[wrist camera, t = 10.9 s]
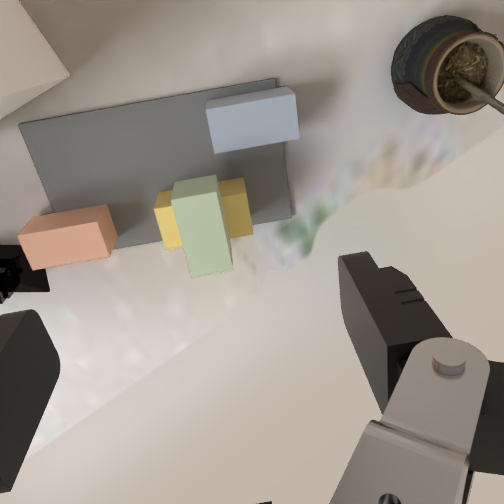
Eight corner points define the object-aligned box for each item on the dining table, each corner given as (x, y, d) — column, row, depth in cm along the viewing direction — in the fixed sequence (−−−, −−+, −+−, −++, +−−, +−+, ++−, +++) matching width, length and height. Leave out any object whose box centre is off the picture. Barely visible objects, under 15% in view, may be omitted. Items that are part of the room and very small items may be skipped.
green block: (174, 181, 37) (170, 199, 33) (216, 174, 37) (216, 191, 33) (193, 254, 40) (191, 277, 37) (231, 247, 40) (233, 270, 37)
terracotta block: (47, 249, 43) (32, 270, 40) (33, 216, 41) (16, 235, 38) (118, 236, 43) (109, 256, 40) (106, 203, 41) (96, 221, 38)
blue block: (214, 141, 39) (214, 153, 36) (206, 100, 38) (205, 109, 34) (292, 127, 39) (299, 138, 36) (287, 86, 38) (295, 93, 34)
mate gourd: (418, -5, 35) (488, -10, 27) (484, 47, 38) (567, 59, 29) (364, 78, 38) (411, 99, 29) (428, 122, 41) (489, 153, 32)
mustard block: (169, 230, 43) (165, 249, 40) (158, 192, 41) (153, 209, 38) (250, 216, 43) (253, 234, 40) (243, 177, 41) (246, 192, 38)
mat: (73, 254, 44) (72, 256, 44) (19, 123, 38) (17, 124, 37) (291, 216, 44) (292, 217, 44) (274, 78, 38) (274, 78, 37)
